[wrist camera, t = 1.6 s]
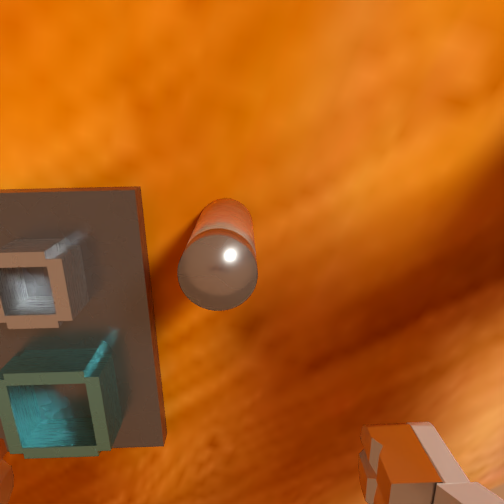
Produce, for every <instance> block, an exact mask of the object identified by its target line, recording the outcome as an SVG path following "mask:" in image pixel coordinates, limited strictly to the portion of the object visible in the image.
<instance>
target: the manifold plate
mask: <svg viewBox="0 0 504 504" xmlns="http://www.w3.org/2000/svg"><path fill="white" fill-rule="evenodd" d="M166 435H167V428H166V419H165V410H164V401H163V392H162V382H161V373H160V364H159V355H158V345H157V336H156V327H155V318H154V309H153V299H152V290H151V281H150V272H149V263H148V253H147V244H146V235H145V226H144V217H143V207H142V198H141V189H140V187H97V188H52V189H7V190H0V438H2V439H4V442H5V445H6V448H7V451H9V452H10V454H24V458H25V459H30V458H59V457H88V456H99V454H100V452H101V451H111V449H112V448H124V447H154V446H164V443H165V439H166Z"/></svg>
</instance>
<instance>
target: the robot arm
mask: <svg viewBox="0 0 504 504" xmlns="http://www.w3.org/2000/svg"><path fill="white" fill-rule="evenodd" d="M360 439H361V442H362V444H363V447H364V449H363V450H362V451H361V453H360V454H359V463H358V468H359V479H360V484H361V488H362V492H363V495H364V498H365V501H366V502H367V503H369V504H504V500H503V499H502V498H500V497H499V496H497V495H496V494H494V493H493V492H491V491H490V490H488V489H487V488H485V487H484V486H482V485H481V484H480V483H478V482H470V481H469V479H468V478H467V476H466V475H465V473H464V472H463V470H462V469H461V467H460V466H459V464H458V463H457V461H456V459H455V458H454V456H453V455H452V453H451V452H450V450H449V449H448V447H447V446H446V444H445V443H444V441H443V440H442V438H441V437H440V435H439V434H438V432H437V430H436V429H435V427H434V426H433V425H432V424H431V423H430V422H411V423H394V424H371V425H363V427H362V429H361V437H360ZM6 452H7V448H6V445H5V442H4V439H2V438H0V504H8V502H9V499H10V496H11V493H12V490H13V486H14V474H13V470H12V466H10V465H9V464H8V463H7V462H6V461H5V460H3V457H4V456H5V454H6Z"/></svg>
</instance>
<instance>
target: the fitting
mask: <svg viewBox="0 0 504 504" xmlns="http://www.w3.org/2000/svg"><path fill="white" fill-rule="evenodd" d="M257 276H258V272H257V262H256V252H255V243H254V233H253V223H252V218H251V215H250V213H249V211H248V210H247V208H246V207H245V206H244V205H243V204H241V203H240V202H238V201H236V200H233V199H227V198H223V199H217V200H215V201H213V202H211V203H209V204H208V205H207V206H206V207H205V208H204V209H203V211H202V213H201V215H200V217H199V219H198V221H197V224H196V226H195V228H194V230H193V232H192V235H191V237H190V239H189V241H188V243H187V246H186V248H185V250H184V252H183V254H182V257H181V259H180V261H179V265H178V281H179V284H180V287H181V289H182V291H183V292H184V294H185V295H186V296H187V298H188V299H190V300H191V301H192V302H193V303H195V304H196V305H198V306H200V307H202V308H205V309H208V310H214V311H222V310H228V309H232V308H234V307H237V306H239V305H240V304H242V303H243V302H244V301H246V300H247V299H248V298H249V296H250V295H251V294H252V292H253V290H254V288H255V286H256V283H257Z"/></svg>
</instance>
